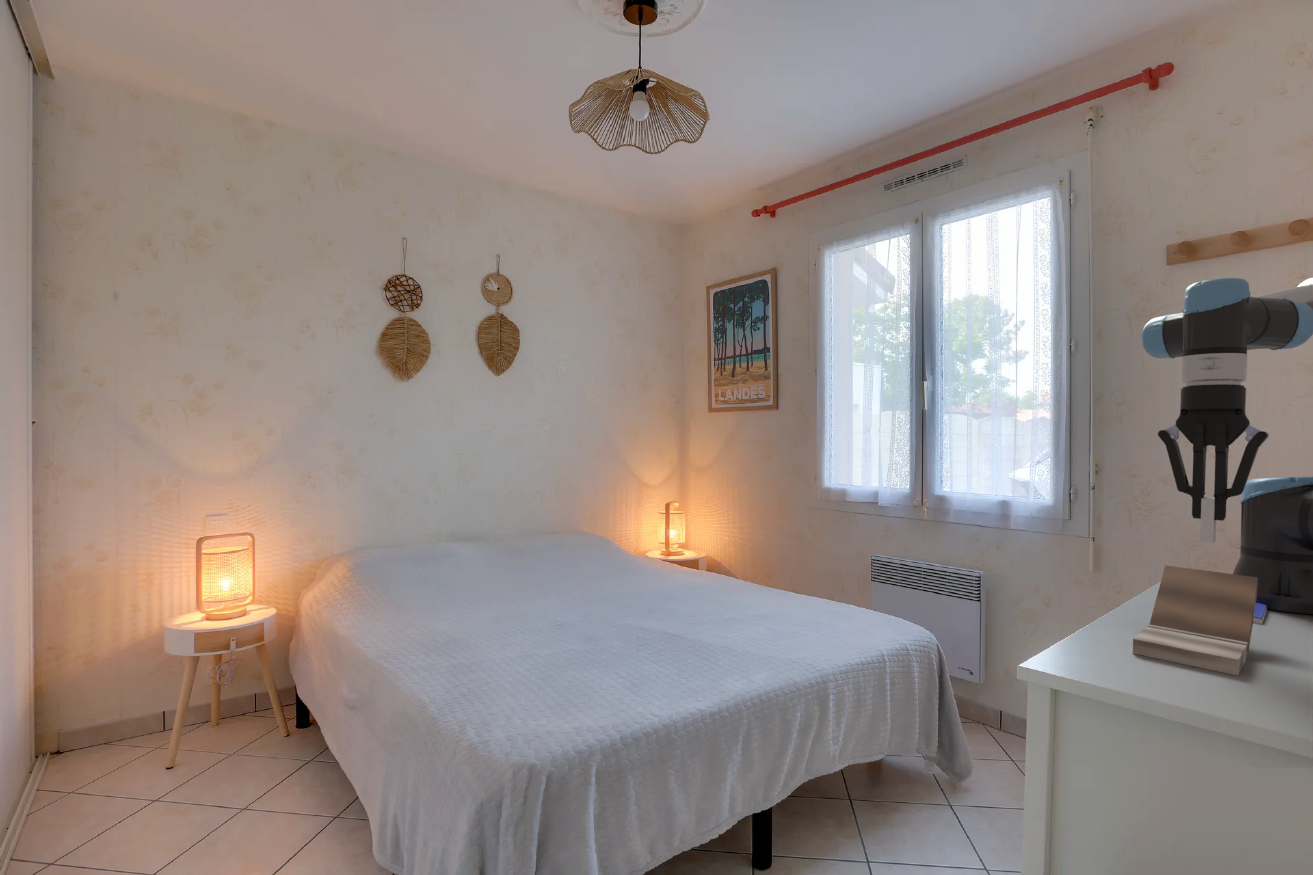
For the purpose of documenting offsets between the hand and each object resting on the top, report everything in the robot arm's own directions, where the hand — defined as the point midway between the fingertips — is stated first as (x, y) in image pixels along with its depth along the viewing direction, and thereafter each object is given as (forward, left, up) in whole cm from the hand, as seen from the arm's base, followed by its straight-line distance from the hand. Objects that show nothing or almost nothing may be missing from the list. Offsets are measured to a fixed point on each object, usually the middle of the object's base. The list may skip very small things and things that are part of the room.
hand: (1207, 541), depth 100 cm
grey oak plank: (+10, +8, -14) cm, 20 cm away
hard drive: (-18, -13, -15) cm, 27 cm away
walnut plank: (+1, +1, -10) cm, 10 cm away
